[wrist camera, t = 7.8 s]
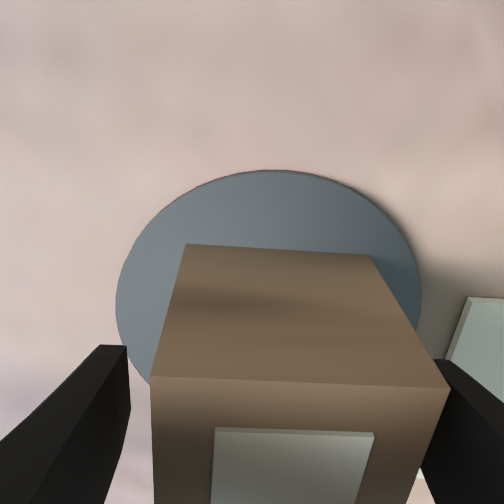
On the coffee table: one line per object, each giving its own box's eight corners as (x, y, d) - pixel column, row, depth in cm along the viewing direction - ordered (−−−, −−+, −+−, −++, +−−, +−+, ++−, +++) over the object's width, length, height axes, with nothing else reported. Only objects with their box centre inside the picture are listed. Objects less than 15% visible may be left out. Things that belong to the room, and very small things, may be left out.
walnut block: (337, 390, 14) (385, 562, 9) (184, 383, 13) (155, 558, 9) (368, 254, 11) (453, 393, 7) (185, 243, 11) (148, 380, 7)
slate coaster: (380, 423, 15) (383, 432, 15) (127, 414, 14) (124, 424, 14) (453, 181, 11) (461, 186, 11) (108, 157, 10) (103, 161, 10)
